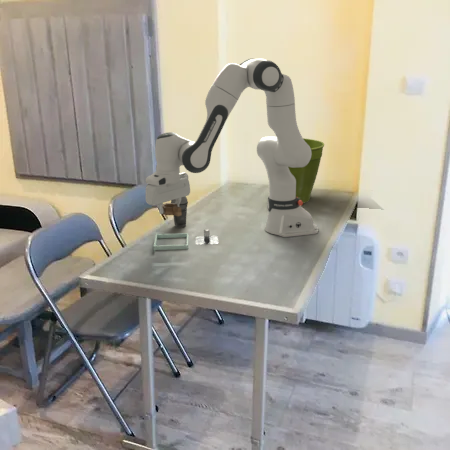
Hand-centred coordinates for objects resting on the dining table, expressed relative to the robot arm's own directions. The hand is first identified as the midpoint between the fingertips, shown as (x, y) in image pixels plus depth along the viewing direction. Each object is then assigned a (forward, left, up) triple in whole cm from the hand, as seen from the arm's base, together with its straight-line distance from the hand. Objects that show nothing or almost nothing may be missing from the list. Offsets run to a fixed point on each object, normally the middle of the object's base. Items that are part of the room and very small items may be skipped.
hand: (169, 211), depth 202 cm
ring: (-1, +1, -1) cm, 2 cm away
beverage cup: (-3, -20, -15) cm, 25 cm away
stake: (-14, -2, -14) cm, 20 cm away
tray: (0, 0, -14) cm, 14 cm away
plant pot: (-58, -57, -15) cm, 83 cm away
